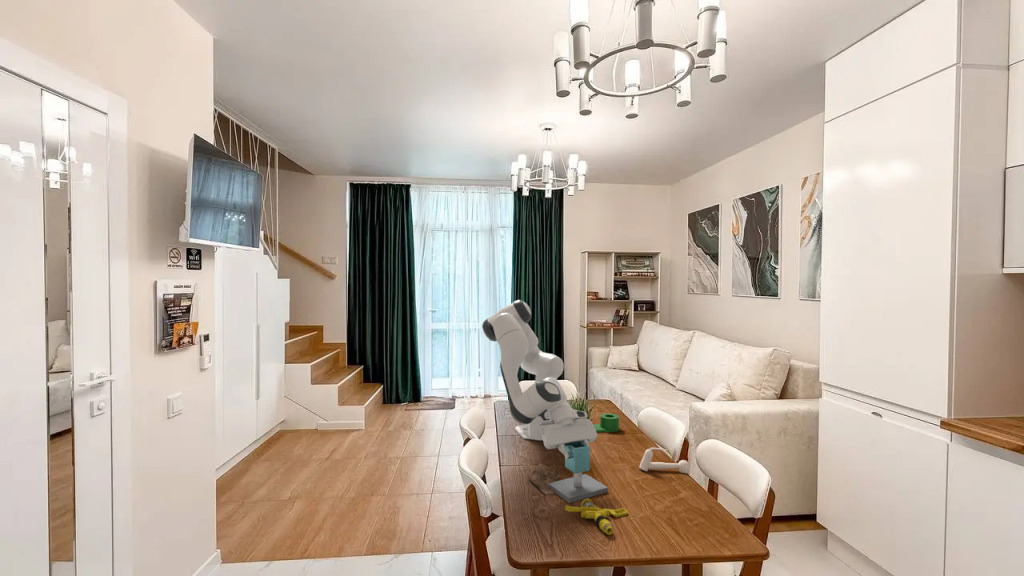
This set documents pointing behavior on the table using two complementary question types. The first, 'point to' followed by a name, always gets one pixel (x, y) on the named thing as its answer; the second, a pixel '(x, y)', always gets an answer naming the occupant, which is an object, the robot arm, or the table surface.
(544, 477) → the wooden fragment
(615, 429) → the green bracket
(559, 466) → the table surface
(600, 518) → the sprinkler
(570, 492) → the post
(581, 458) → the teal square cup
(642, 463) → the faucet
